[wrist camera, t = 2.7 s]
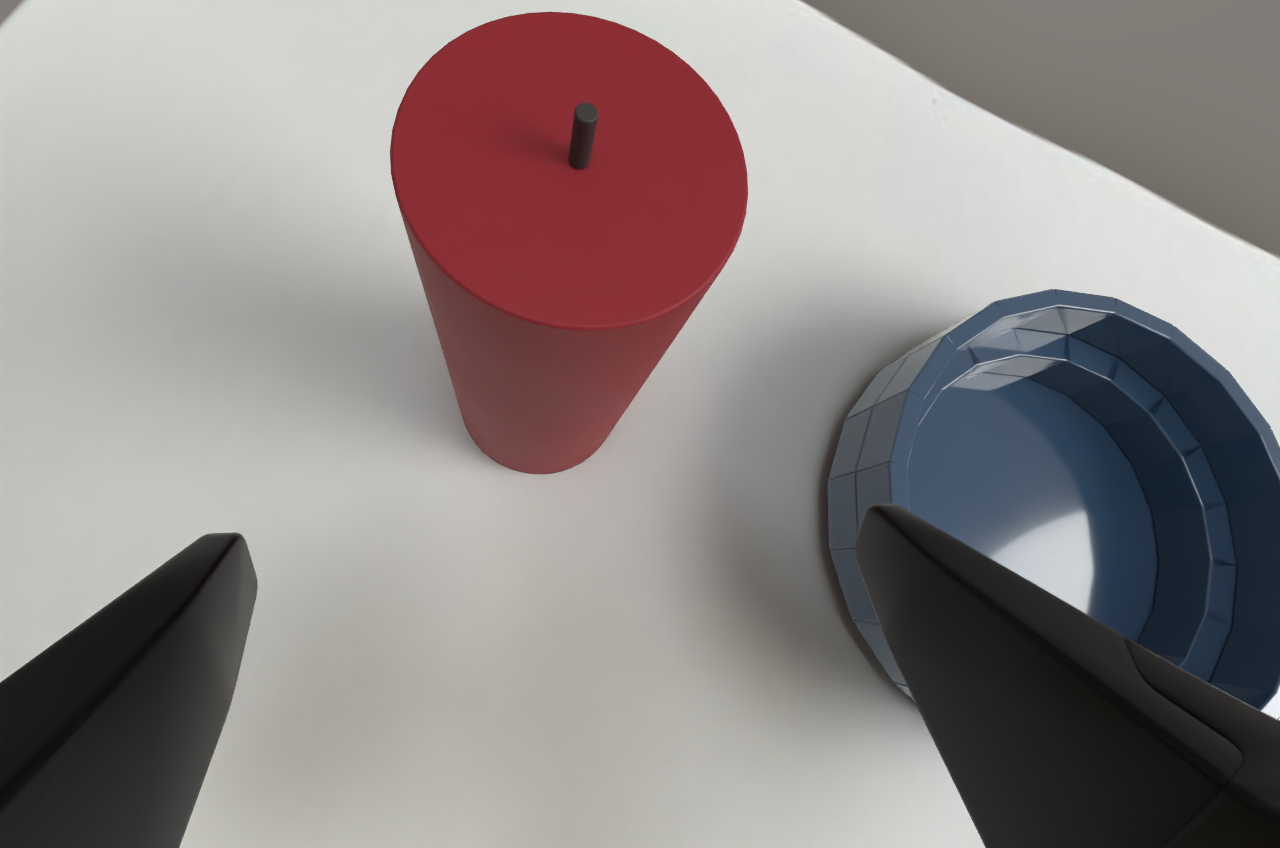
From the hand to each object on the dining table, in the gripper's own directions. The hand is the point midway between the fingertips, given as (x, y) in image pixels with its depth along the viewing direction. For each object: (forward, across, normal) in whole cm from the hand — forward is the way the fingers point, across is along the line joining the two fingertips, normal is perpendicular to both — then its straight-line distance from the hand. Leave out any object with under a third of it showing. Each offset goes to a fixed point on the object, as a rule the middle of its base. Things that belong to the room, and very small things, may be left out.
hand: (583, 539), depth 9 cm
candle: (+11, 0, +4) cm, 12 cm away
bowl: (+8, -16, +8) cm, 19 cm away
